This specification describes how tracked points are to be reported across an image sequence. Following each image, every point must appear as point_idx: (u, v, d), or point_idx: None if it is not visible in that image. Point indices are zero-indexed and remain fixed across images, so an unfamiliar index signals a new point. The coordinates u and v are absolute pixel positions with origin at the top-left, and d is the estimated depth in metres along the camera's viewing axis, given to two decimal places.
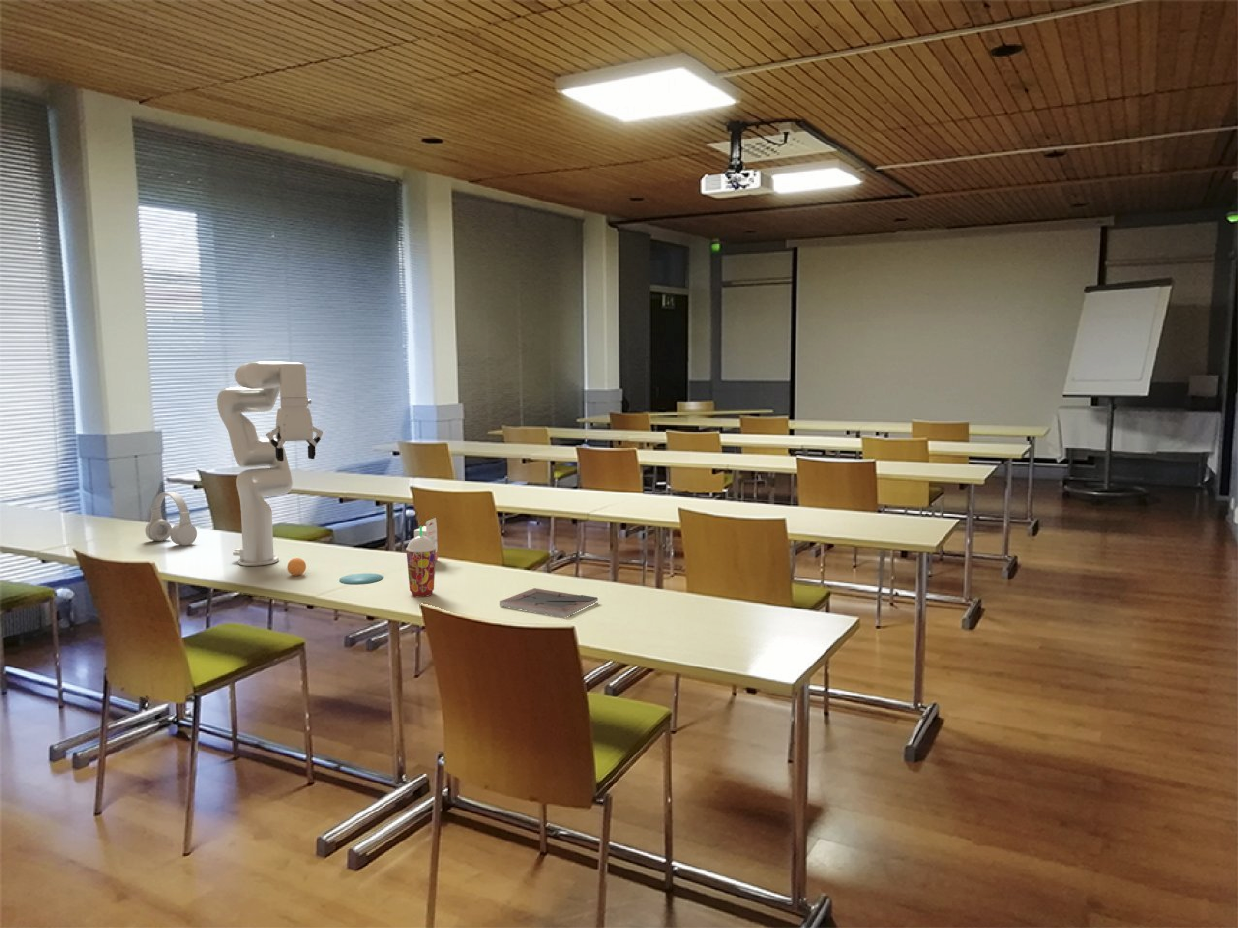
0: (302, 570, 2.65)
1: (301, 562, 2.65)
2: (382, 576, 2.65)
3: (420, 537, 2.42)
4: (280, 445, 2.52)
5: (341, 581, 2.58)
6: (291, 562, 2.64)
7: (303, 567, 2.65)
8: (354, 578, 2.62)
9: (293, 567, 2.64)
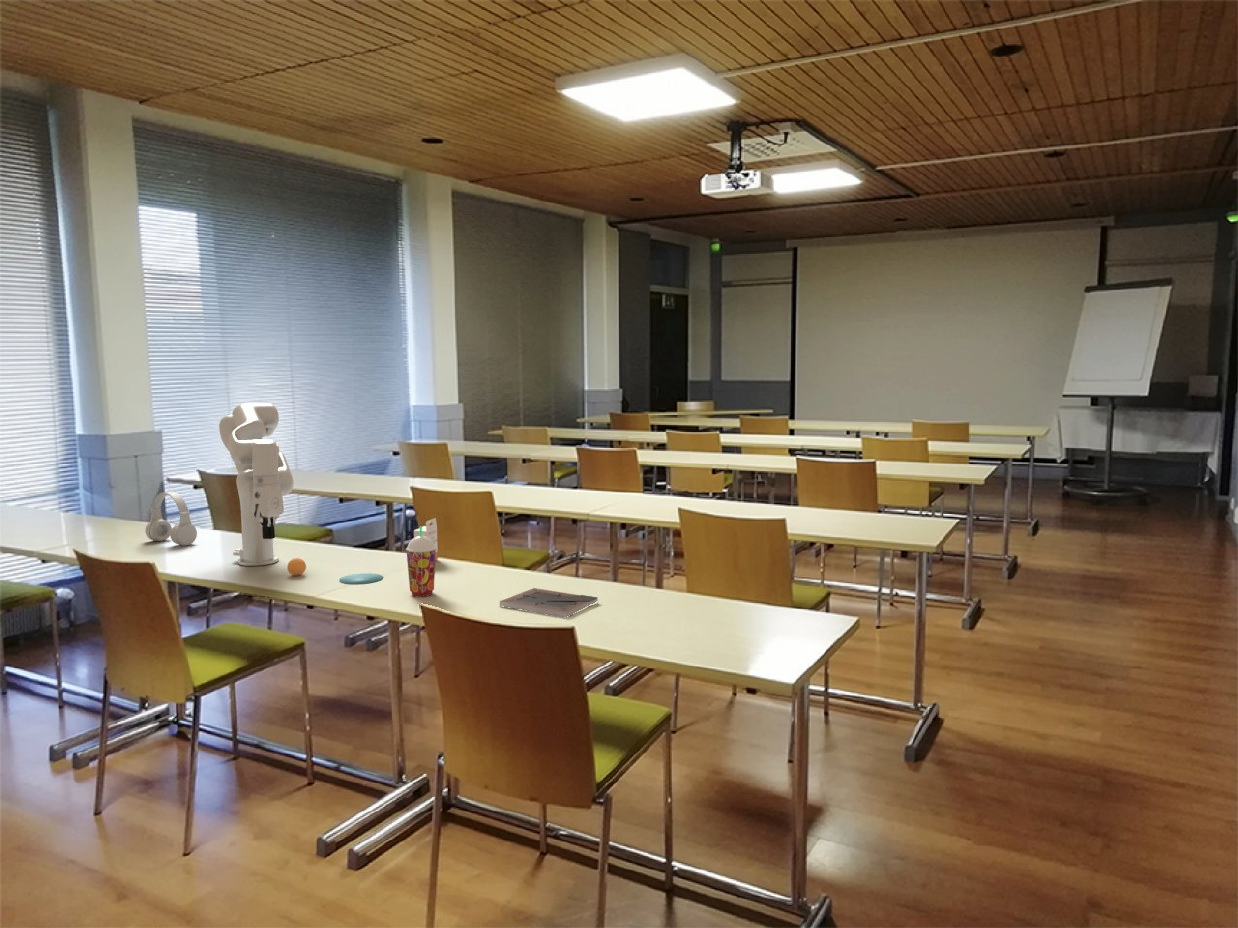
0: (302, 570, 2.65)
1: (301, 562, 2.65)
2: (382, 576, 2.65)
3: (420, 537, 2.42)
4: None
5: (341, 581, 2.58)
6: (291, 562, 2.64)
7: (303, 567, 2.65)
8: (354, 578, 2.62)
9: (293, 567, 2.64)
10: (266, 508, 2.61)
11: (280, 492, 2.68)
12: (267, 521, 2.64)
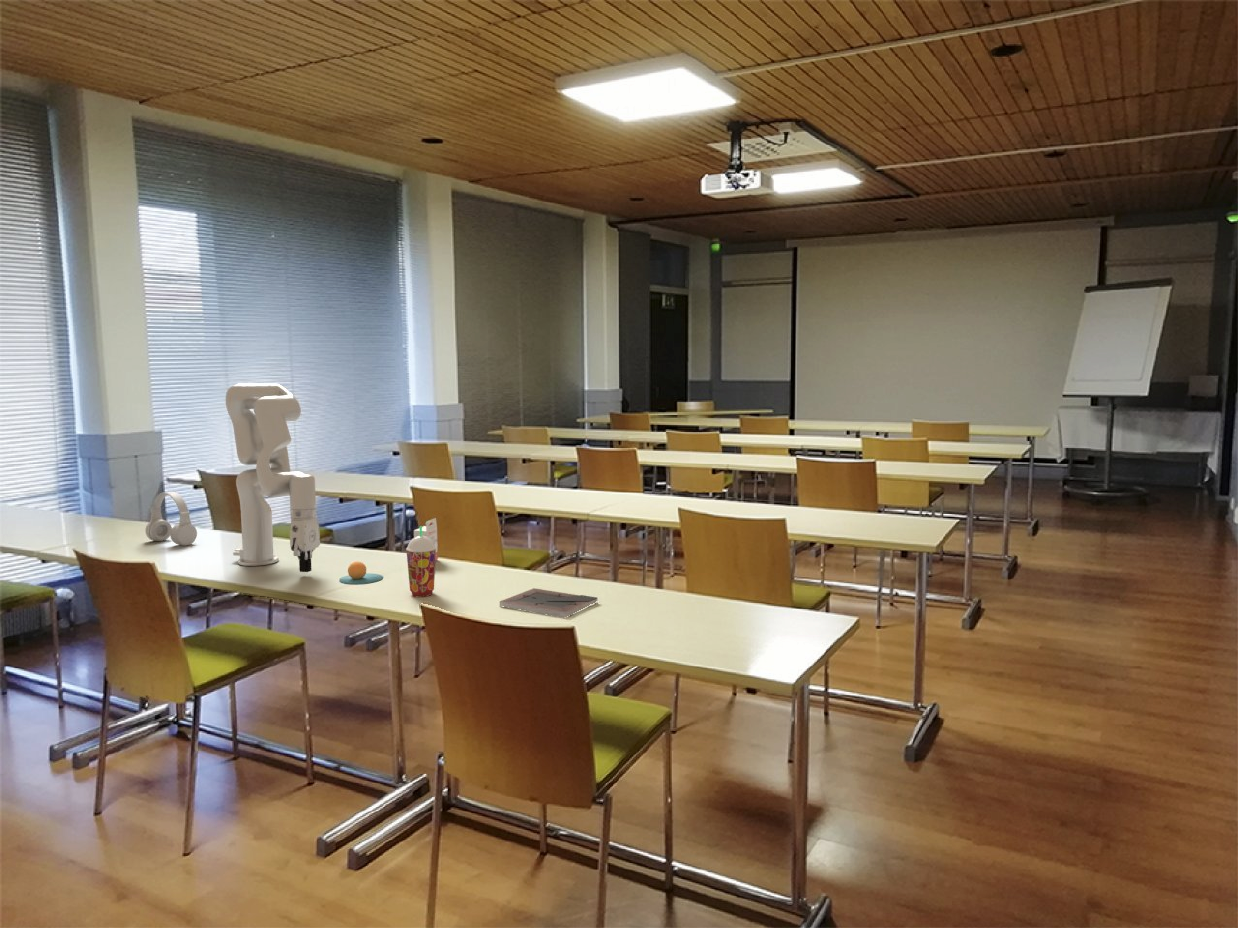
0: None
1: (363, 574, 2.61)
2: (382, 576, 2.65)
3: (420, 537, 2.42)
4: None
5: (341, 581, 2.58)
6: (357, 567, 2.60)
7: (360, 578, 2.62)
8: None
9: (354, 573, 2.59)
10: (304, 542, 2.60)
11: (317, 525, 2.67)
12: (304, 554, 2.63)
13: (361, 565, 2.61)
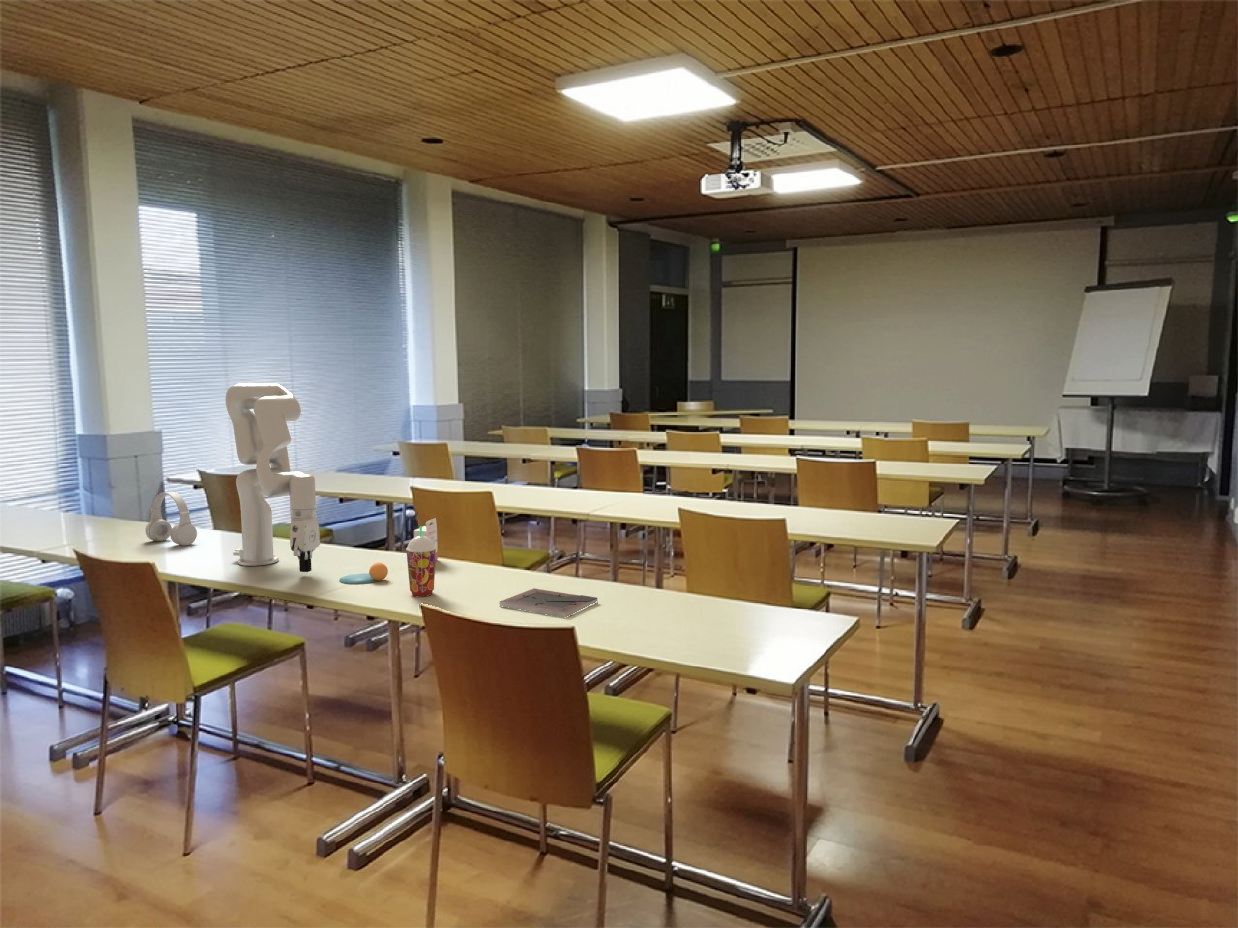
0: (372, 565, 2.60)
1: None
2: None
3: (420, 537, 2.42)
4: None
5: (341, 581, 2.58)
6: (374, 578, 2.59)
7: (370, 567, 2.60)
8: (354, 578, 2.62)
9: (372, 573, 2.58)
10: (304, 542, 2.60)
11: (317, 525, 2.67)
12: (304, 554, 2.63)
13: None
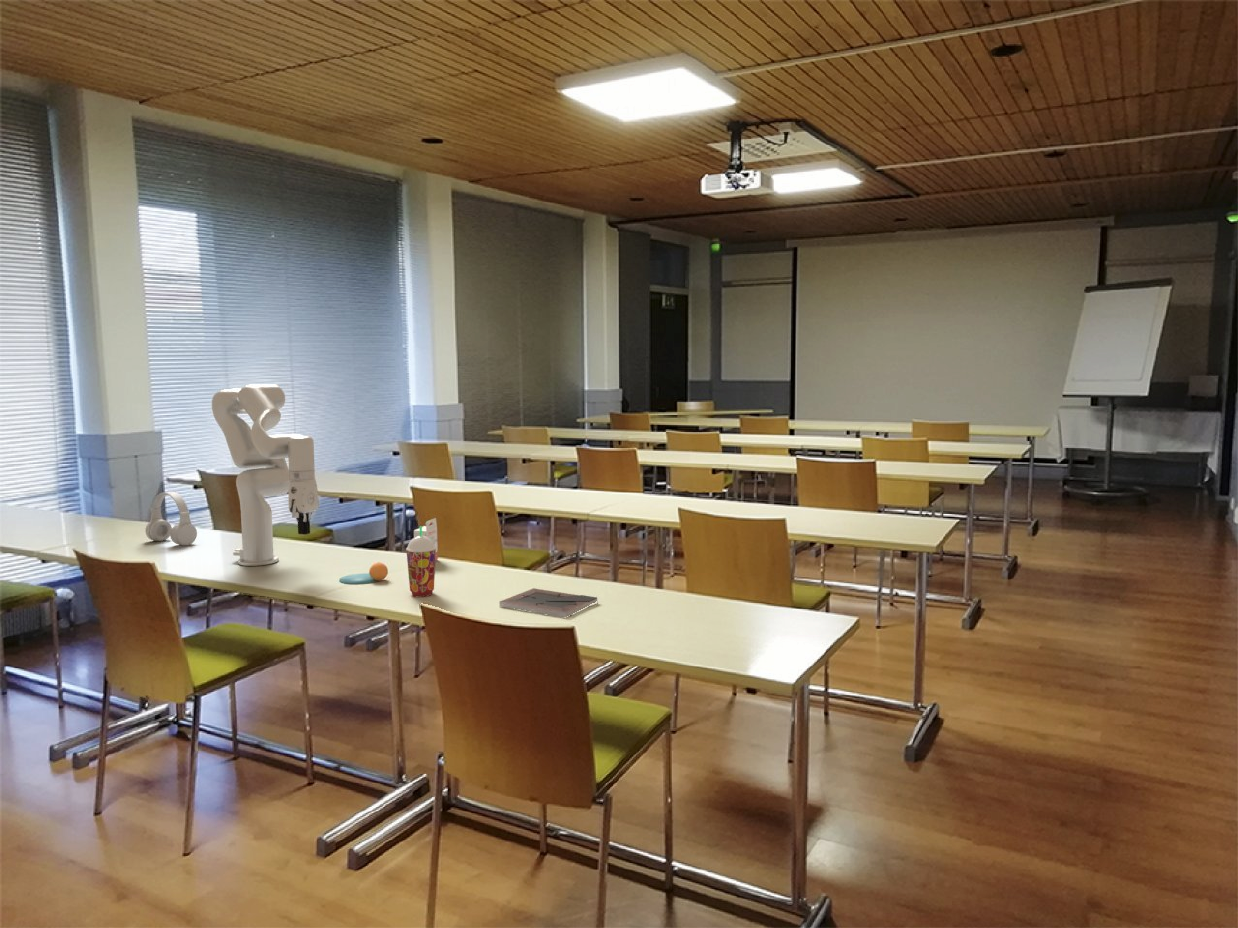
0: (372, 565, 2.60)
1: None
2: None
3: (420, 537, 2.42)
4: None
5: (341, 581, 2.58)
6: (374, 578, 2.59)
7: (371, 567, 2.60)
8: (354, 578, 2.62)
9: (372, 573, 2.58)
10: (302, 503, 2.59)
11: (316, 487, 2.66)
12: (303, 516, 2.62)
13: (375, 579, 2.60)
